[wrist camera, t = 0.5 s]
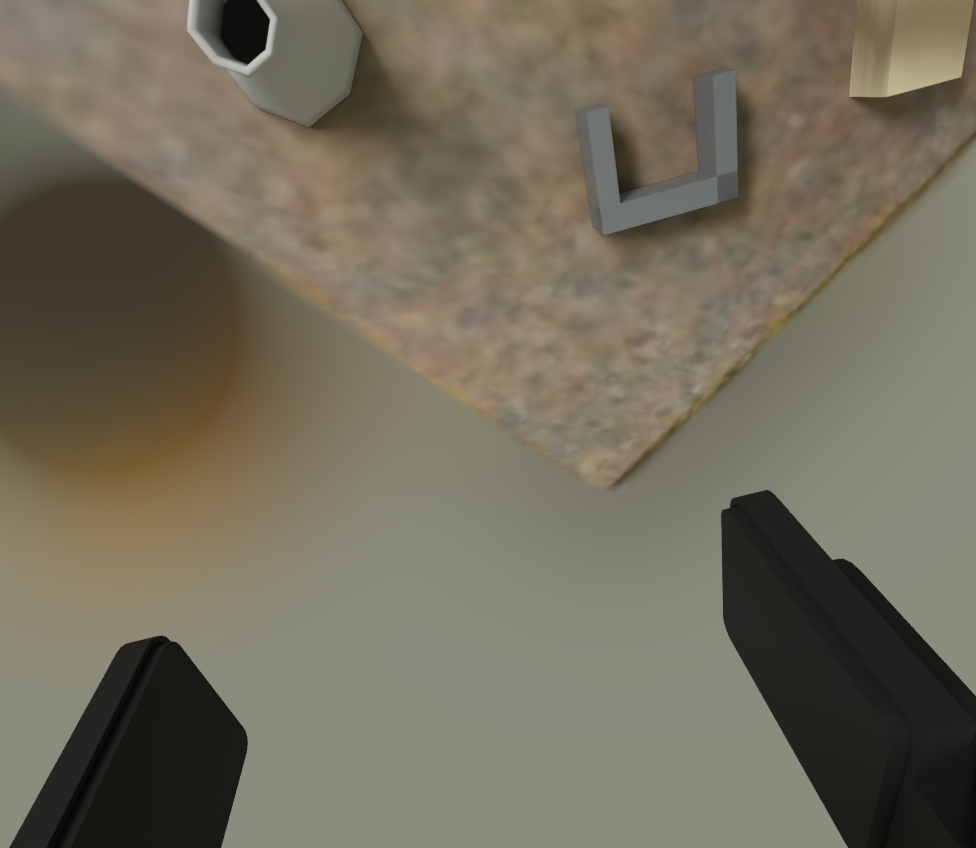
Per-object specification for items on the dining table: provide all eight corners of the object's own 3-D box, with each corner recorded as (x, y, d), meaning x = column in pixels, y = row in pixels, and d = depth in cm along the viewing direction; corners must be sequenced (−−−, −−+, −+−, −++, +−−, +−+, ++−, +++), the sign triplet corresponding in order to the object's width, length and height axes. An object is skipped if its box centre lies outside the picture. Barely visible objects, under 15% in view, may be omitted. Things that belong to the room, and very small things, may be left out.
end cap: (575, 111, 32) (586, 112, 30) (714, 70, 32) (735, 69, 30) (592, 226, 36) (603, 235, 33) (718, 191, 35) (738, 197, 33)
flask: (388, 30, 30) (372, 5, 21) (315, 152, 32) (275, 174, 23) (257, -87, 27) (178, -171, 18) (190, 56, 29) (91, 42, 21)
